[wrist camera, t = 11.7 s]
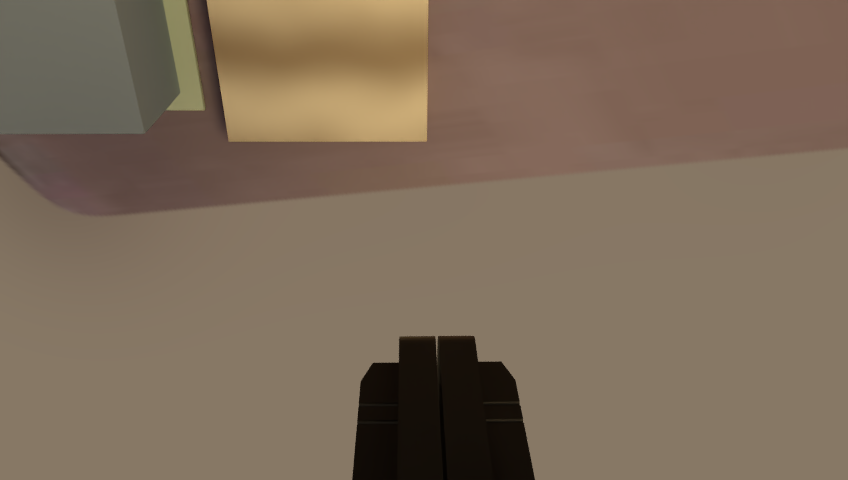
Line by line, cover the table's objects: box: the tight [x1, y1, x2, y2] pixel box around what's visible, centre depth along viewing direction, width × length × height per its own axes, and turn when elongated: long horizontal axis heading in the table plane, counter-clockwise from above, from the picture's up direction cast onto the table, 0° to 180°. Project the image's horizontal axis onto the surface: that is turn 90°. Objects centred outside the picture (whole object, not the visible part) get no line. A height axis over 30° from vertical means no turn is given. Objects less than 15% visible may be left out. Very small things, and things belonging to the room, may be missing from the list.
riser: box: [207, 0, 428, 142], centre depth 35 cm, size 11×11×2 cm
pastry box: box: [0, 0, 180, 134], centre depth 33 cm, size 7×8×6 cm
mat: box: [163, 0, 206, 110], centre depth 36 cm, size 10×8×1 cm
